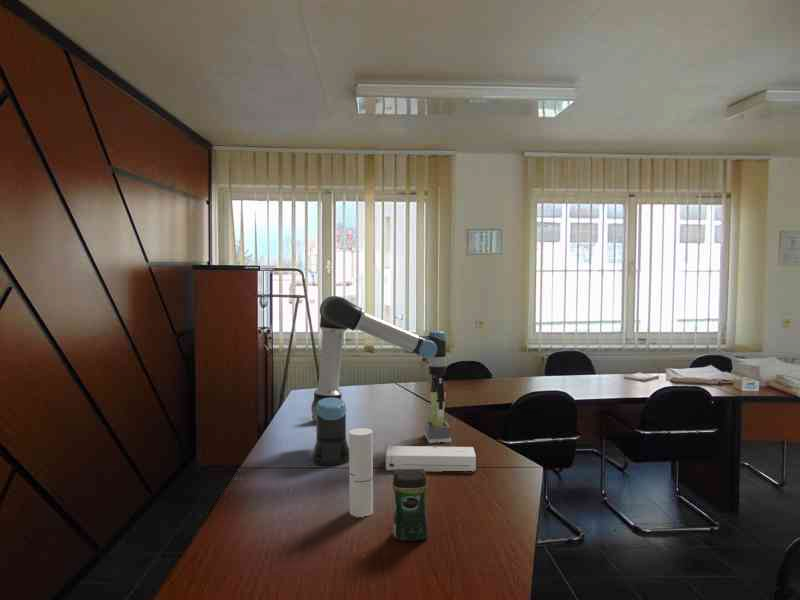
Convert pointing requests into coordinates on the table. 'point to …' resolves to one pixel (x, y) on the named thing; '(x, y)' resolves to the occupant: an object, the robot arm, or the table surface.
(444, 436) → the grey and white box
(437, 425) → the tube
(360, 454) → the cylindrical container
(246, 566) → the table surface
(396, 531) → the coffee jar
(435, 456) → the laminator
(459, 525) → the table surface
